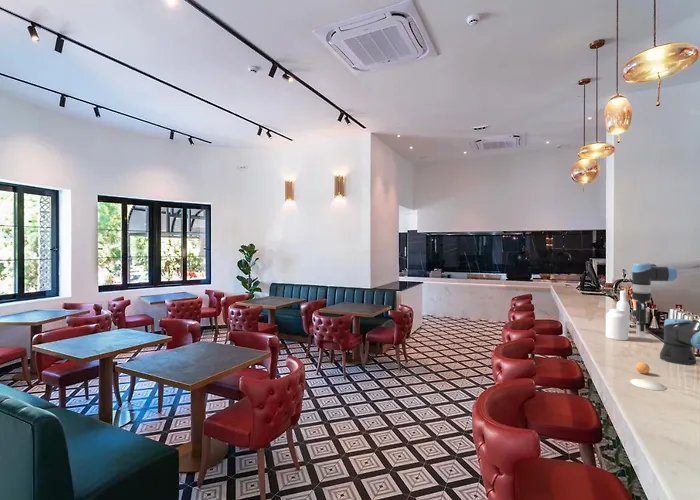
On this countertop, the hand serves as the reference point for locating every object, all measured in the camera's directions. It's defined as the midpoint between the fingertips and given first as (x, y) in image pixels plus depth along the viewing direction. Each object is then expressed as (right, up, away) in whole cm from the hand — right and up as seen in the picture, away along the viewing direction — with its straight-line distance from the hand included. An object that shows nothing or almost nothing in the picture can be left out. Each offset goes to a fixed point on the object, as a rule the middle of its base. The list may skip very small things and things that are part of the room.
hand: (640, 335), depth 191 cm
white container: (+30, -16, +57) cm, 66 cm away
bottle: (+47, -15, +74) cm, 89 cm away
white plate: (-14, -18, -22) cm, 32 cm away
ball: (-5, -15, -8) cm, 17 cm away
